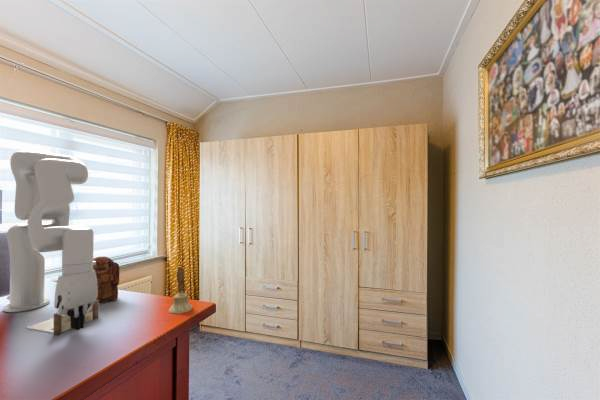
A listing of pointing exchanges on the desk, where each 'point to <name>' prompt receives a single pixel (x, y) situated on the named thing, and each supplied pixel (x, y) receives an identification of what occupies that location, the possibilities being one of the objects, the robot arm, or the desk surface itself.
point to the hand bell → (180, 296)
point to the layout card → (44, 326)
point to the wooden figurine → (106, 279)
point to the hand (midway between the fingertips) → (77, 328)
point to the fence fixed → (96, 309)
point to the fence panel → (68, 321)
